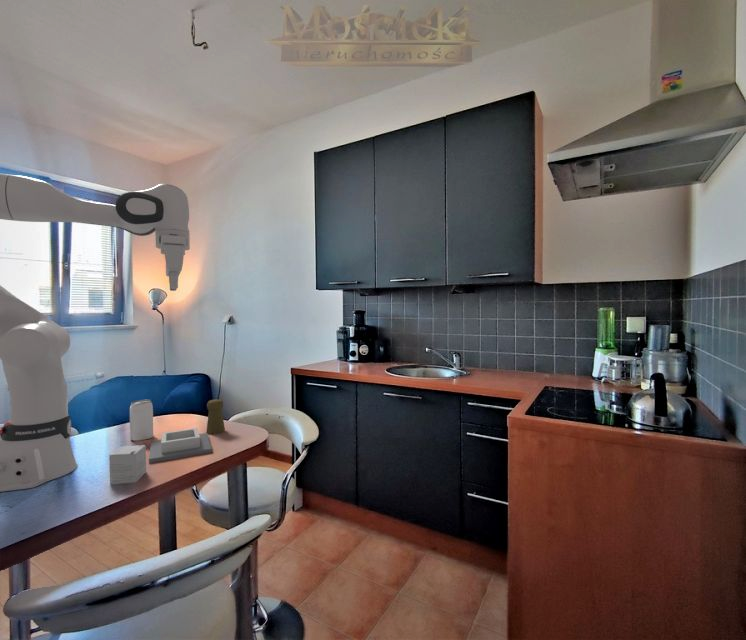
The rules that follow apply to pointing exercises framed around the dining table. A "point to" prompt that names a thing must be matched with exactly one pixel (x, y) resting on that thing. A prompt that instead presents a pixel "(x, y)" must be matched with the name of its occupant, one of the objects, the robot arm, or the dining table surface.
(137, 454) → the skincare box
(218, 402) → the brown flared peg
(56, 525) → the dining table surface
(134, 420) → the can
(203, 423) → the dining table surface
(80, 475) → the dining table surface
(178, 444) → the grey socket base
